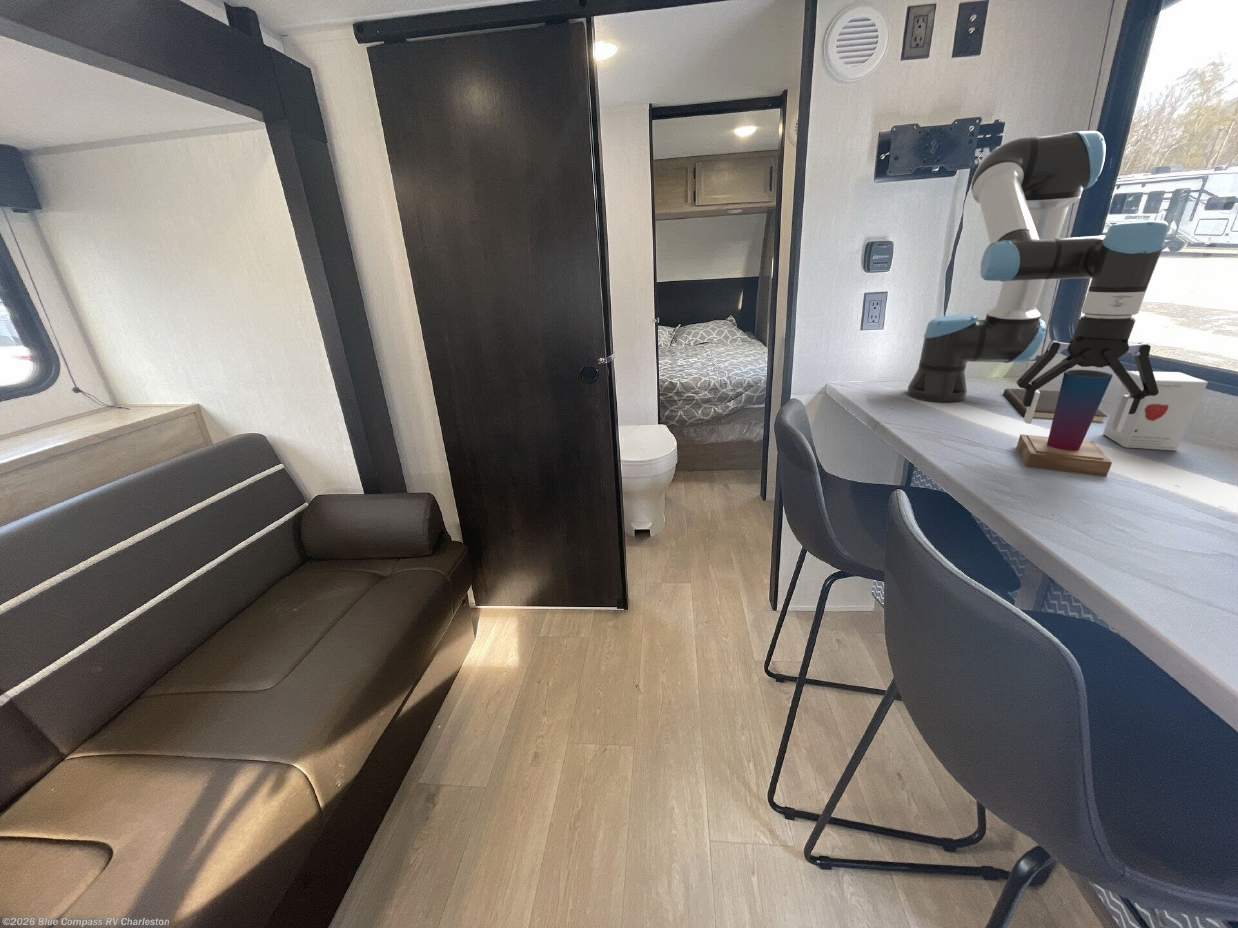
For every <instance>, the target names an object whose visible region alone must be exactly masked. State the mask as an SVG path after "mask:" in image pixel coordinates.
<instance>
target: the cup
mask: <svg viewBox="0 0 1238 928" xmlns="http://www.w3.org/2000/svg"><path fill="white" fill-rule="evenodd" d="M1112 378H1113V374H1111V373H1109V372H1106V371H1100V370H1093V369H1068V370H1066V371H1065V372H1063V378H1062V380H1061V386H1060V389H1059V391H1060V392H1059V397H1058V401H1057V405H1056V409H1055V413H1054V417H1053V418H1052V422H1051V424H1050V425H1051V426H1050V429H1049V434H1048V437H1049V438H1048V442H1047V444H1048V445H1049V446H1051V447H1054V448H1058V449H1063V450H1078V449H1080V447H1081V444H1082V442H1083V440H1085V437H1086V436H1087V433H1088V431H1089V428H1090V426H1091V425H1092V422H1093V421H1092V420H1093V418H1094V416H1095V414H1096V411H1097V409H1098V410H1099V407H1100V405H1101V402H1102V401H1103V398H1104V396H1105V393H1106V391H1107V389H1108V387H1109V385H1110V382H1111V380H1112Z"/></svg>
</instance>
